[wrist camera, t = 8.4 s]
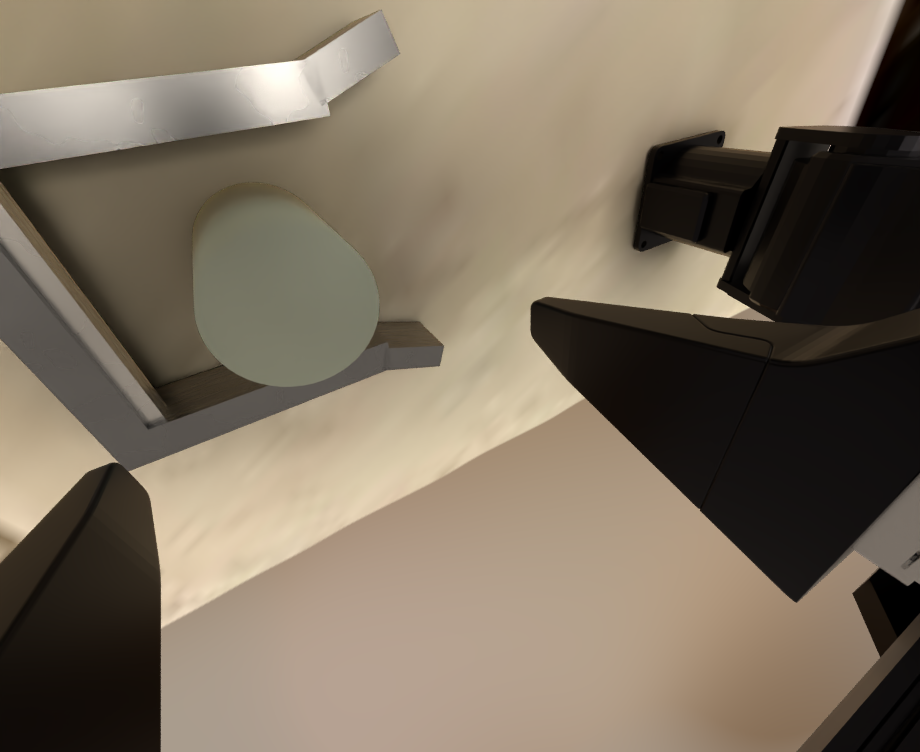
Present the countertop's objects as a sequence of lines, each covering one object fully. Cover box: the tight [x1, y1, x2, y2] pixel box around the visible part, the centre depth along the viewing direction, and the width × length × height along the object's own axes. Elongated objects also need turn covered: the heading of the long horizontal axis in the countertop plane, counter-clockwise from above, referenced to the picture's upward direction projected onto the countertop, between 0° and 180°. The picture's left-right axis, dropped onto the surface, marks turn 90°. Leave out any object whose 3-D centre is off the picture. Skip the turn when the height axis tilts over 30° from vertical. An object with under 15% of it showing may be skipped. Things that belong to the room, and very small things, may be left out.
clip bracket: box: [0, 10, 444, 471], centre depth 16 cm, size 14×14×3 cm
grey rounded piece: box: [192, 183, 380, 387], centre depth 15 cm, size 5×5×7 cm
